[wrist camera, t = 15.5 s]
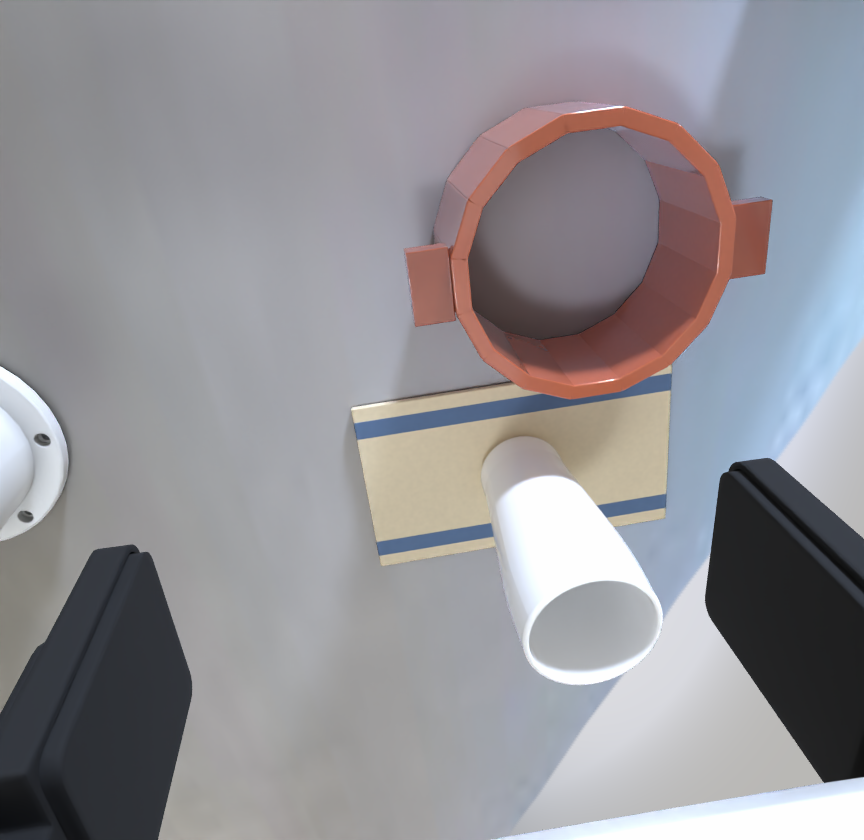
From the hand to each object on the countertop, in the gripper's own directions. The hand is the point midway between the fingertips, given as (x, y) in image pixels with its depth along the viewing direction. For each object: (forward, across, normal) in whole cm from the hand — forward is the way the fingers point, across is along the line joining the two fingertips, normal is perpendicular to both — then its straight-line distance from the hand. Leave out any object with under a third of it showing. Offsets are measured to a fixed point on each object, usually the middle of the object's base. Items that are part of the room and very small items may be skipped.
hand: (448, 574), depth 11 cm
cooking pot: (+29, -10, +1) cm, 31 cm away
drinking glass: (+29, -8, +16) cm, 34 cm away
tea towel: (+29, -8, +16) cm, 34 cm away
